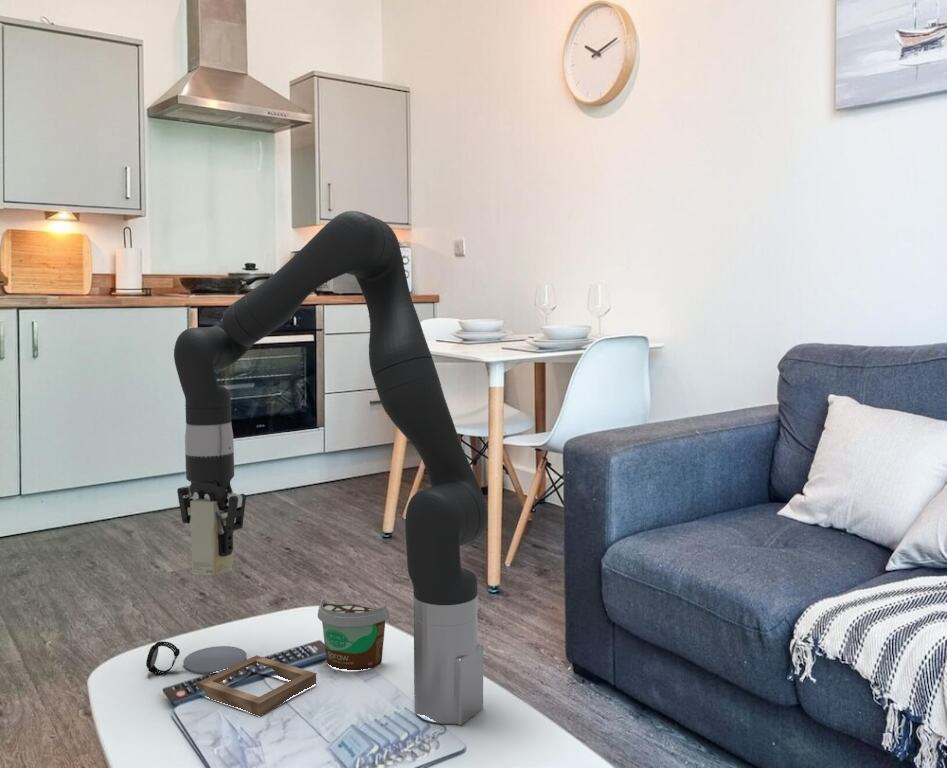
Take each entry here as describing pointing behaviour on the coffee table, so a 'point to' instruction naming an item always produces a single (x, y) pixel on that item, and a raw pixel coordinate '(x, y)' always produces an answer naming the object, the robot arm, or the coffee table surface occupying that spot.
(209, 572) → the skincare box
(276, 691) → the frame
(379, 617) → the food container
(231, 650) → the slate coaster
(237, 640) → the coffee table surface
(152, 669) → the smartwatch
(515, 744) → the coffee table surface
